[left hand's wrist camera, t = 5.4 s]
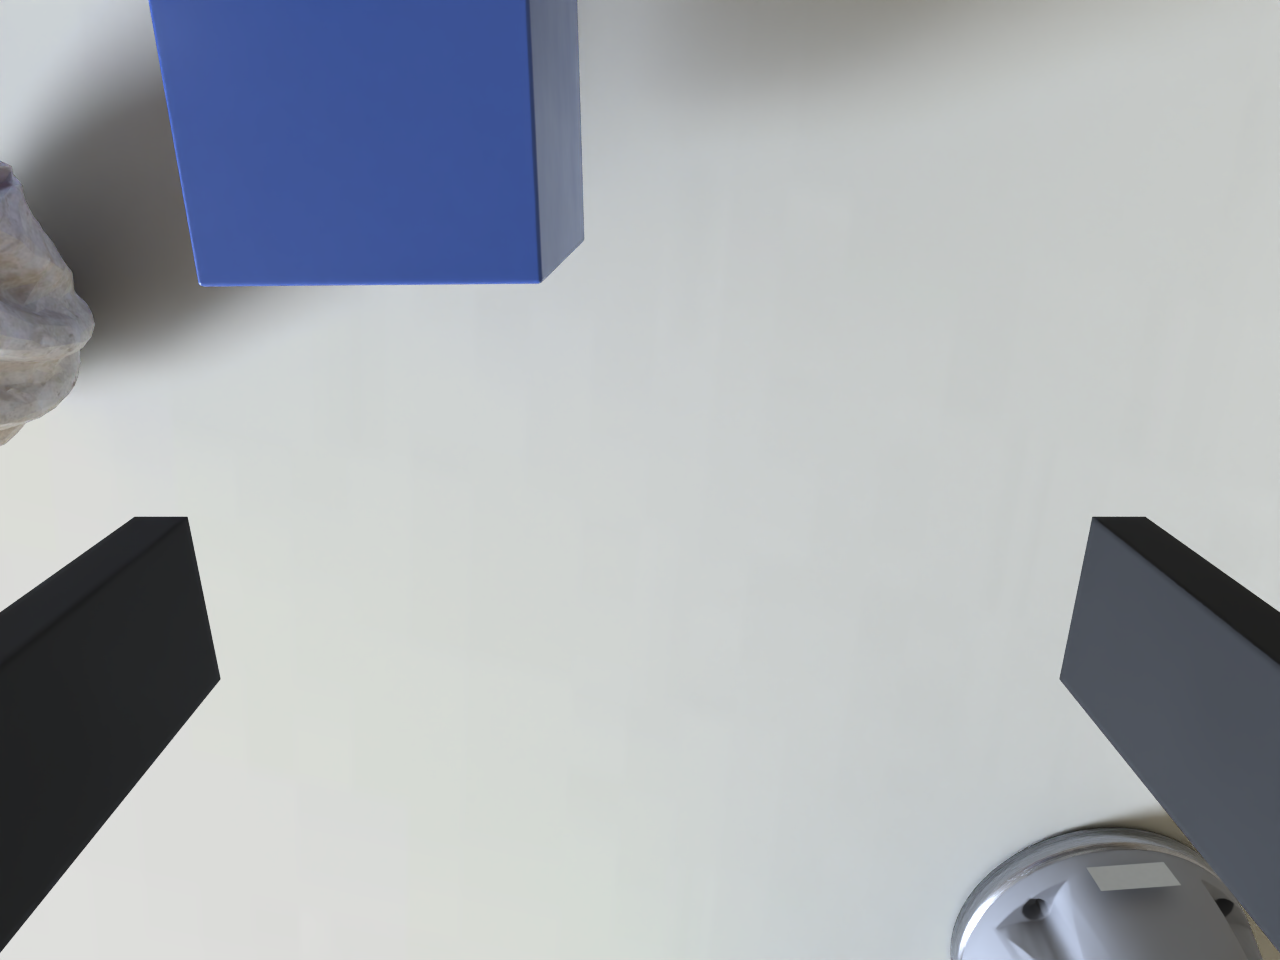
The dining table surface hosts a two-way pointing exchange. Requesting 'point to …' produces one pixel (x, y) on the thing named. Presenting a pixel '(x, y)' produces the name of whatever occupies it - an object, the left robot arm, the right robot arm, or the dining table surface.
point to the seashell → (34, 315)
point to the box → (375, 138)
